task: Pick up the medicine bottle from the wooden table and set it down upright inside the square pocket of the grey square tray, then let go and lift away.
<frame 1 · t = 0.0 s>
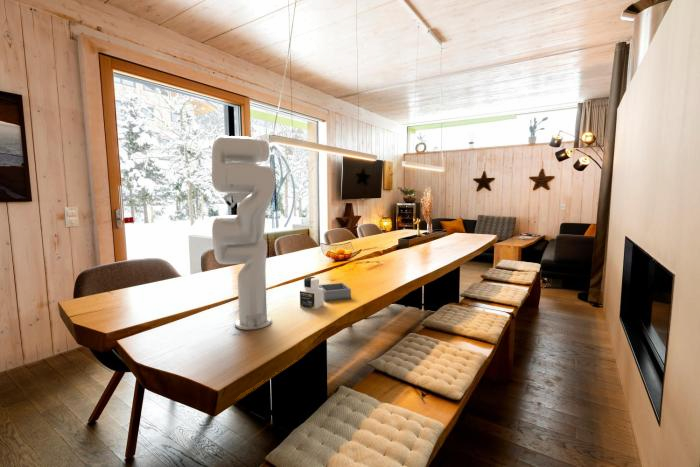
hand: (246, 217, 143), 37 cm above the table, tool pointing down, fingers open, 9 cm apart
grey square tray: (334, 296, 157), on the table
medicine bottle: (312, 306, 144), on the table
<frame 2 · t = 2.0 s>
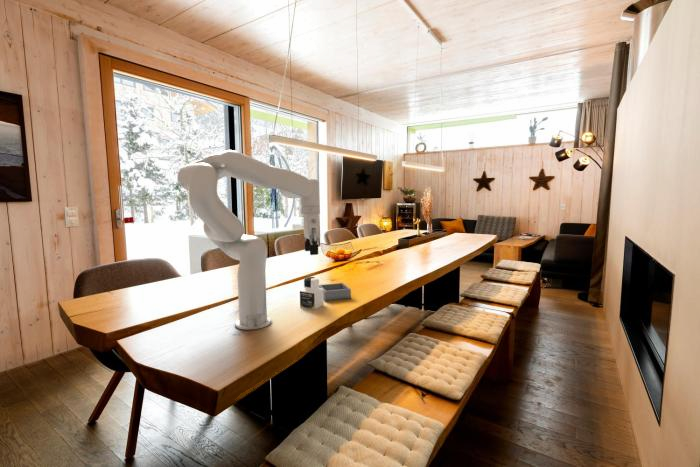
hand: (311, 252, 141), 22 cm above the table, tool pointing down, fingers open, 9 cm apart
nothing on the table moved.
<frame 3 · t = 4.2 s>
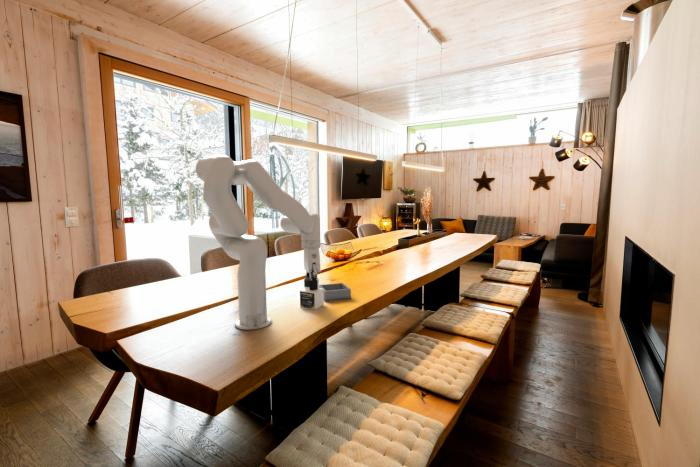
hand: (311, 287, 143), 8 cm above the table, tool pointing down, fingers closed on medicine bottle, 6 cm apart
medicine bottle: (312, 306, 144), on the table, touching gripper
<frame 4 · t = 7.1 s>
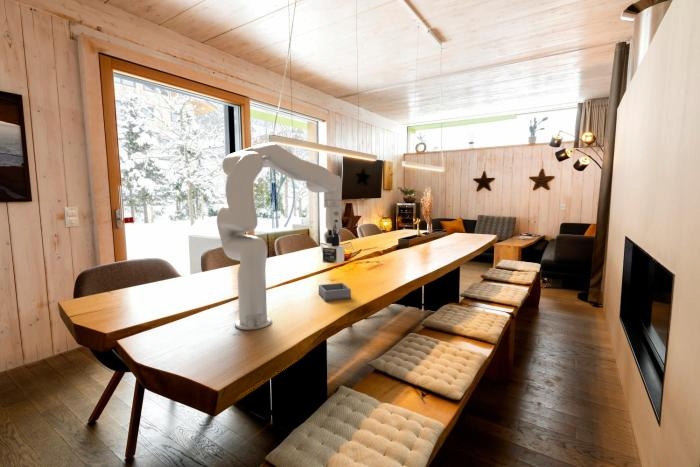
hand: (333, 244, 154), 24 cm above the table, tool pointing down, fingers closed on medicine bottle, 6 cm apart
medicine bottle: (333, 262, 155), point 16 cm above the table, touching gripper
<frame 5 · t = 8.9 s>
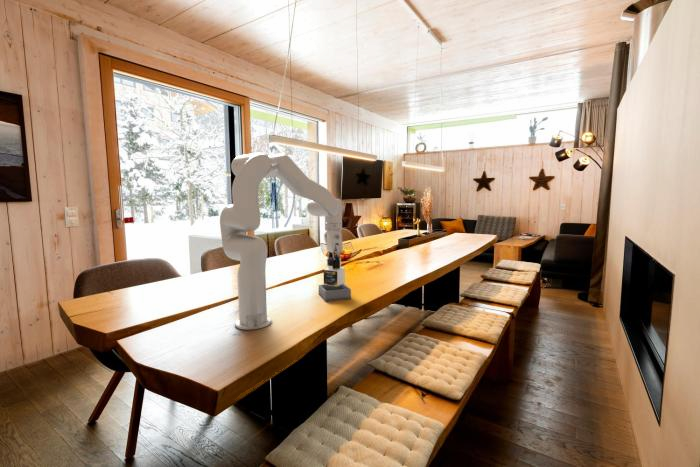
hand: (334, 266, 156), 14 cm above the table, tool pointing down, fingers closed on medicine bottle, 6 cm apart
medicine bottle: (334, 284, 156), point 6 cm above the table, touching gripper
when the fingers open (10 cm above the table, at t = 10.1 s): medicine bottle drops 1 cm, resting on grey square tray.
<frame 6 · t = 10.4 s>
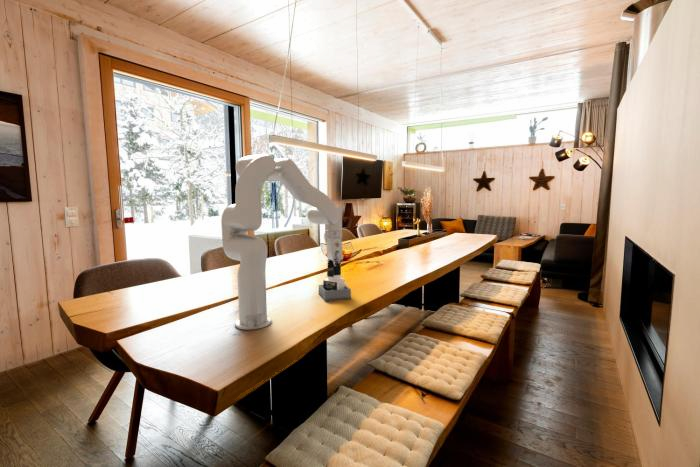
hand: (334, 272, 156), 11 cm above the table, tool pointing down, fingers open, 8 cm apart
medicine bottle: (334, 295, 157), point 1 cm above the table, touching grey square tray
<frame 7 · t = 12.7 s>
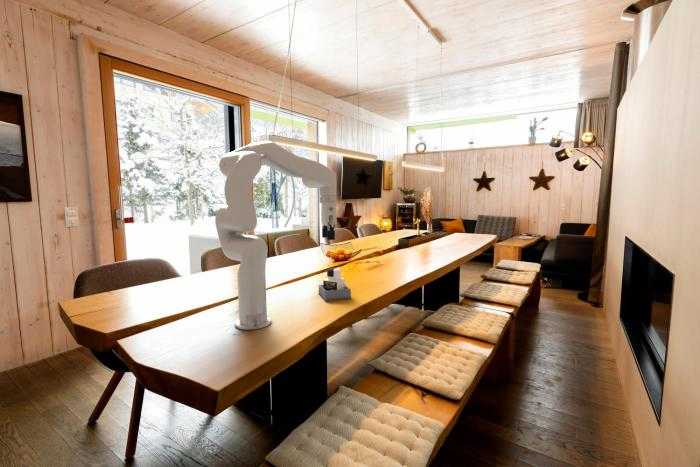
hand: (328, 238, 155), 26 cm above the table, tool pointing down, fingers open, 9 cm apart
nothing on the table moved.
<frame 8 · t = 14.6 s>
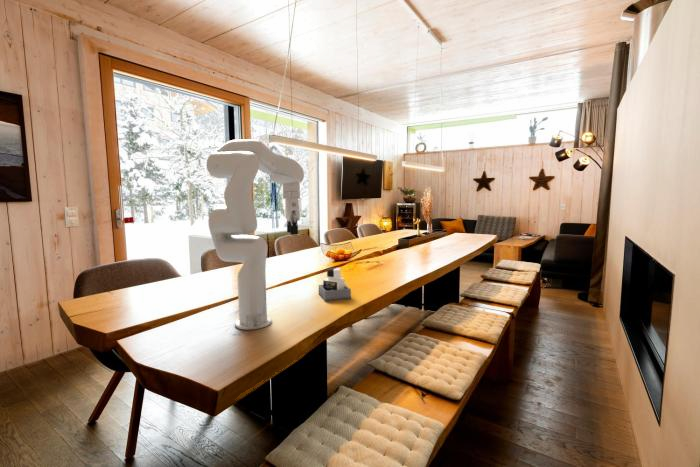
hand: (292, 233, 158), 28 cm above the table, tool pointing down, fingers open, 9 cm apart
nothing on the table moved.
at the end: medicine bottle 0.1 cm off-centre on the grey square tray, point 0.8 cm above the grey square tray's base; medicine bottle tilted 0°; the gripper is holding nothing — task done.
